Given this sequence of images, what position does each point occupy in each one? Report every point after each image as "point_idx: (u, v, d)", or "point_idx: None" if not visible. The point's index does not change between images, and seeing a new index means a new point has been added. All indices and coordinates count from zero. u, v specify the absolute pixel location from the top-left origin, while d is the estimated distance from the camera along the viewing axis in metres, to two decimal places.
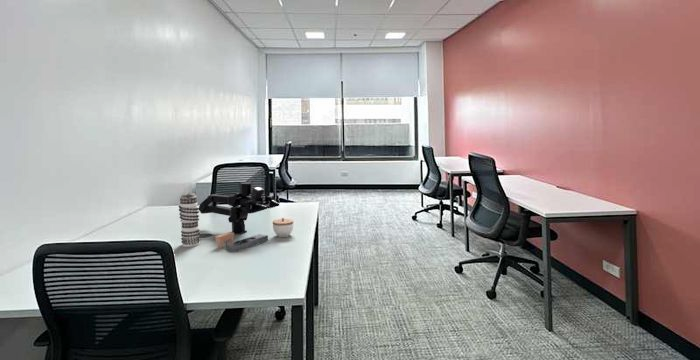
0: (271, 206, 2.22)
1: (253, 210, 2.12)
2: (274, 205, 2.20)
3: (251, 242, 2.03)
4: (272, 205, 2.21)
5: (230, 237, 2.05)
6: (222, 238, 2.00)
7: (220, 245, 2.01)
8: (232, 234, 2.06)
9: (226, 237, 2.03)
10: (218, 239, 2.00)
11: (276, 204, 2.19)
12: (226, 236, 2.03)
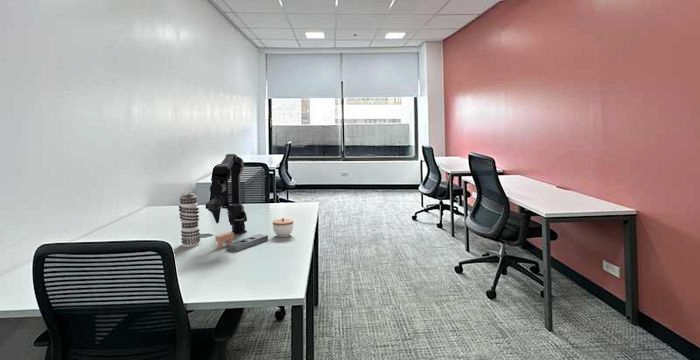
0: None
1: None
2: None
3: (251, 242, 2.03)
4: None
5: (230, 237, 2.05)
6: (222, 238, 2.00)
7: (220, 245, 2.01)
8: (232, 234, 2.06)
9: (226, 237, 2.03)
10: (218, 239, 2.00)
11: None
12: (226, 236, 2.03)
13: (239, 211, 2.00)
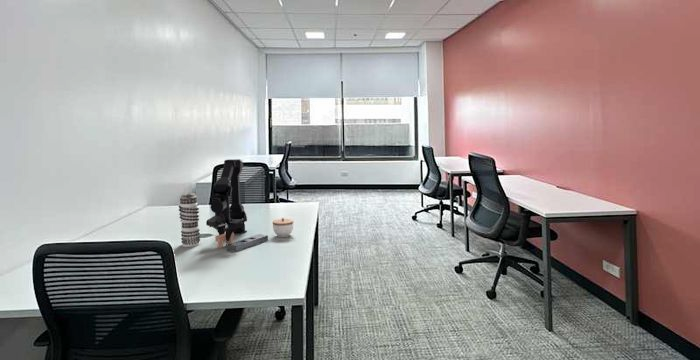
0: None
1: None
2: None
3: (251, 242, 2.03)
4: None
5: (230, 237, 2.05)
6: (222, 238, 2.00)
7: (220, 245, 2.01)
8: (232, 234, 2.06)
9: None
10: (218, 239, 2.00)
11: None
12: None
13: None
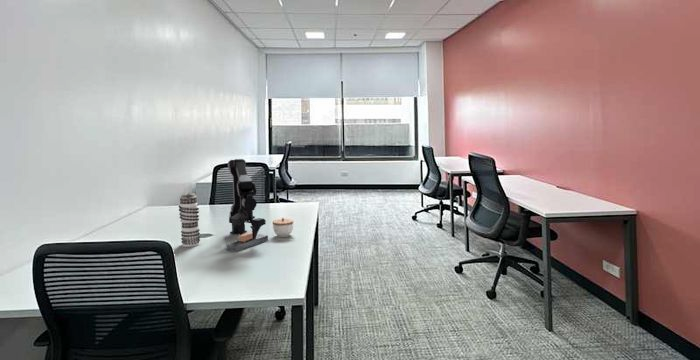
0: None
1: None
2: None
3: (251, 242, 2.03)
4: None
5: None
6: (245, 237, 2.01)
7: None
8: None
9: (249, 236, 2.03)
10: (241, 238, 2.00)
11: None
12: (249, 235, 2.03)
13: (262, 225, 2.02)
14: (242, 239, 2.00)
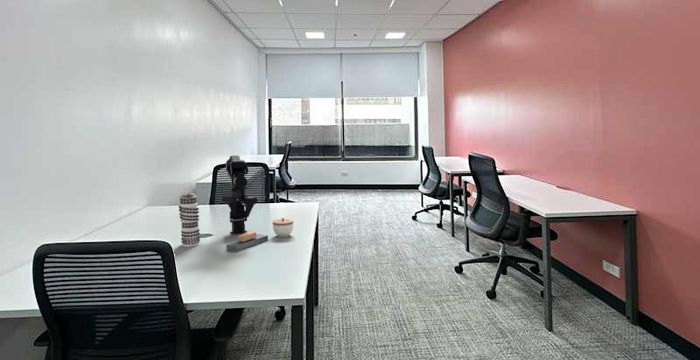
0: None
1: None
2: None
3: (251, 242, 2.03)
4: None
5: (253, 236, 2.06)
6: (245, 237, 2.01)
7: None
8: (255, 233, 2.07)
9: (249, 236, 2.03)
10: (241, 238, 2.00)
11: None
12: (249, 235, 2.03)
13: None
14: (242, 239, 2.00)
